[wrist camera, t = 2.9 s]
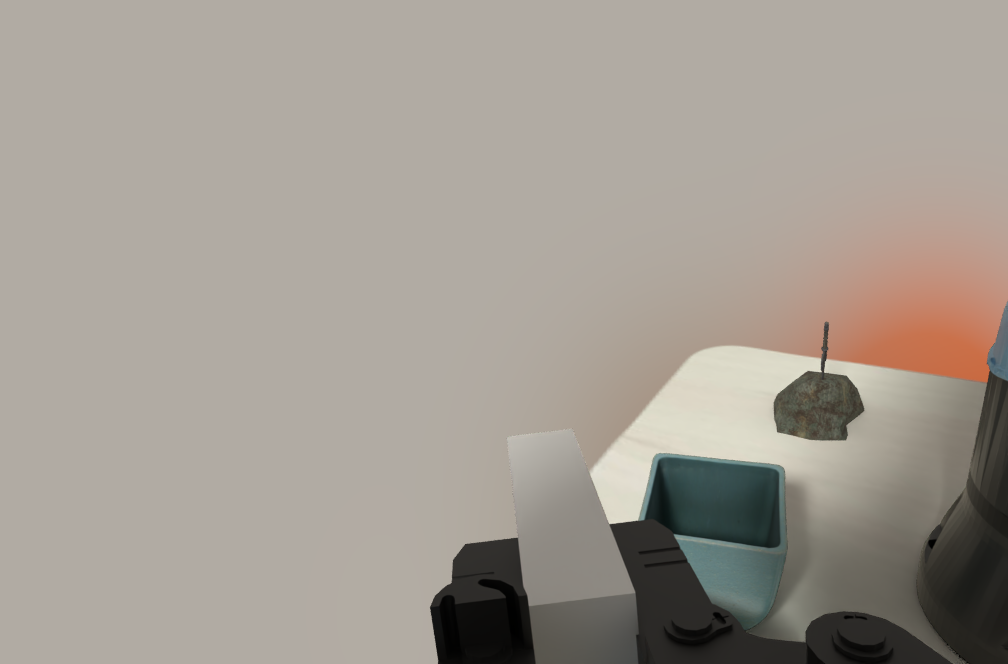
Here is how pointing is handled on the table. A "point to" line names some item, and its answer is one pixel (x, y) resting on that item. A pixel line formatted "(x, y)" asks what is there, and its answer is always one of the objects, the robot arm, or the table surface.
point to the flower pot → (724, 526)
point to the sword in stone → (818, 404)
